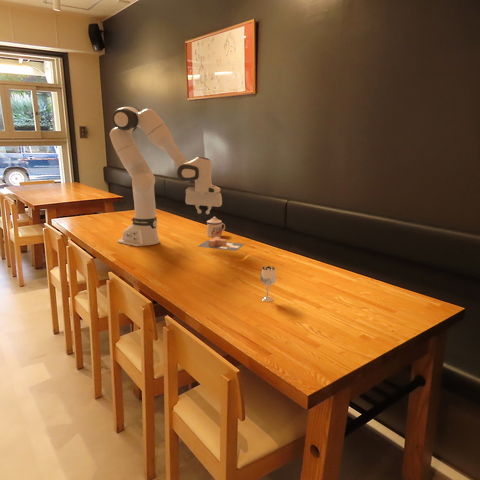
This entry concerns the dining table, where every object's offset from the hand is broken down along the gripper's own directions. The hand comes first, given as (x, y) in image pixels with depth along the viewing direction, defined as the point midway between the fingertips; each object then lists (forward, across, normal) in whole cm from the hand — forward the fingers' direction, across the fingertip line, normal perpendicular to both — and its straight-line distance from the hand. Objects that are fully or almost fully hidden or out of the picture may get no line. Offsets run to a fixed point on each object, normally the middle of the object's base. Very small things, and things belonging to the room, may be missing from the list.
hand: (203, 213), depth 212 cm
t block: (+16, +9, 0) cm, 19 cm away
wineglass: (+17, +53, -61) cm, 82 cm away
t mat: (+17, +10, 0) cm, 20 cm away
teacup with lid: (+17, 0, +20) cm, 26 cm away
